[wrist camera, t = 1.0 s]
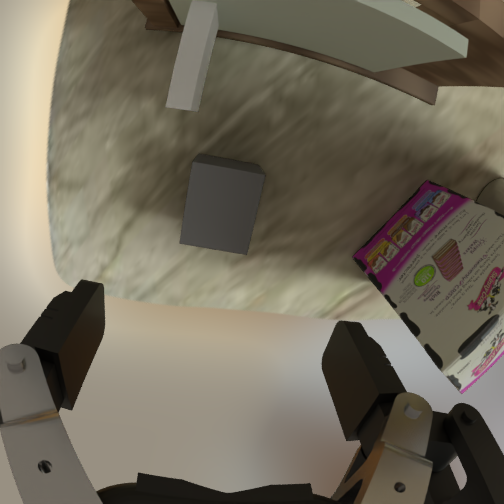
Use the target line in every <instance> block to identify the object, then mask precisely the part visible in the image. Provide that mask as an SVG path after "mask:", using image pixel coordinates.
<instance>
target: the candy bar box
mask: <svg viewBox="0 0 504 504" xmlns="http://www.w3.org/2000/svg"><path fill="white" fill-rule="evenodd" d="M352 258H353V260H354V261H355V262H356V263H357V265H358V266H359V267H360V268H361V269H362V271H363V272H364V273H365V274H366V275H367V277H368V278H369V279H370V280H371V281H372V283H373V284H374V285H375V286H376V288H377V289H378V290H379V291H380V292H381V294H382V295H383V296H384V298H385V299H386V300H387V301H388V302H389V304H390V305H391V306H392V307H393V309H394V310H395V311H396V313H397V314H398V315H399V316H400V318H401V319H402V320H403V322H404V323H405V324H406V326H407V327H408V328H409V330H410V331H411V332H412V334H414V336H415V337H416V339H417V340H418V341H419V342H420V344H421V345H422V346H423V348H424V349H425V351H426V352H427V354H428V355H429V356H430V357H431V359H432V361H433V362H434V363H435V365H436V366H437V367H438V368H439V369H440V370H441V372H442V373H443V374H444V375H445V376H446V377H447V378H448V379H449V380H450V381H451V383H452V384H453V385H454V386H455V387H456V388H457V389H458V391H459V392H460V393H461V394H463V393H464V392H465V391H466V390H467V389H468V388H469V387H470V386H471V385H473V384H474V383H475V382H476V381H477V380H478V379H479V378H480V377H481V376H482V375H483V374H484V373H485V372H486V371H487V370H488V369H489V368H490V367H492V366H493V365H494V364H495V362H496V361H497V360H498V359H499V358H500V357H501V356H502V355H503V354H504V215H502V214H500V213H498V212H496V211H494V210H492V209H490V208H488V207H486V206H484V205H482V204H480V203H478V202H476V201H474V200H472V199H469V198H467V197H465V196H463V195H461V194H458V193H456V192H454V191H452V190H450V189H448V188H445V187H443V186H441V185H438V184H436V183H434V182H431V181H429V180H427V181H426V182H425V183H424V184H423V185H422V186H421V187H420V188H419V189H418V190H417V191H416V192H415V193H414V194H413V196H412V197H411V198H410V199H409V200H408V201H407V202H406V203H405V204H404V205H403V206H402V207H401V208H400V209H399V210H398V212H397V213H396V214H395V215H394V216H393V217H392V218H391V219H390V220H389V221H388V222H387V223H386V224H385V225H384V226H383V227H382V228H381V229H380V230H379V231H378V232H377V233H376V234H375V235H374V236H373V237H372V238H371V239H370V240H369V241H368V242H367V243H366V244H365V245H364V246H363V247H362V248H361V249H360V250H359V251H358V252H357V253H356V254H355V255H354V256H353V257H352Z"/></svg>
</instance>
